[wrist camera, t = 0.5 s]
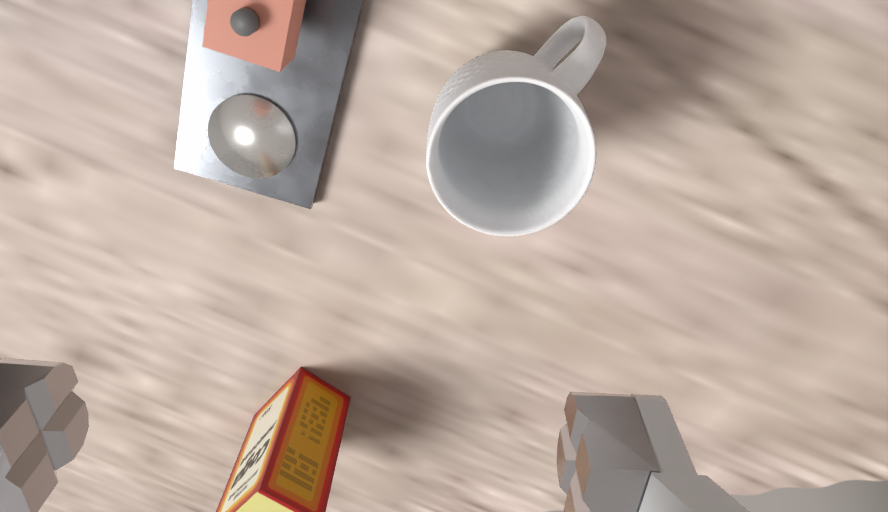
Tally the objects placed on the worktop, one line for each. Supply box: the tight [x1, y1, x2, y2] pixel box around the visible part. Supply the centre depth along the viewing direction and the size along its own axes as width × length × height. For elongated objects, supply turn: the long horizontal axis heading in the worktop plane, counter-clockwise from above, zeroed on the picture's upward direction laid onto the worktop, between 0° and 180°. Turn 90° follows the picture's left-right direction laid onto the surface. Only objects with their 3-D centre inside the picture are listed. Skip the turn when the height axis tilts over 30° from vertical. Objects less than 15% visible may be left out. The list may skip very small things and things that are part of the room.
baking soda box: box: [216, 367, 351, 512], centre depth 62 cm, size 10×6×16 cm
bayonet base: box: [174, 0, 363, 209], centre depth 46 cm, size 22×12×7 cm, turn 162°
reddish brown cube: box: [202, 0, 306, 72], centre depth 41 cm, size 5×5×5 cm
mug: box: [426, 16, 607, 236], centre depth 44 cm, size 15×11×13 cm
